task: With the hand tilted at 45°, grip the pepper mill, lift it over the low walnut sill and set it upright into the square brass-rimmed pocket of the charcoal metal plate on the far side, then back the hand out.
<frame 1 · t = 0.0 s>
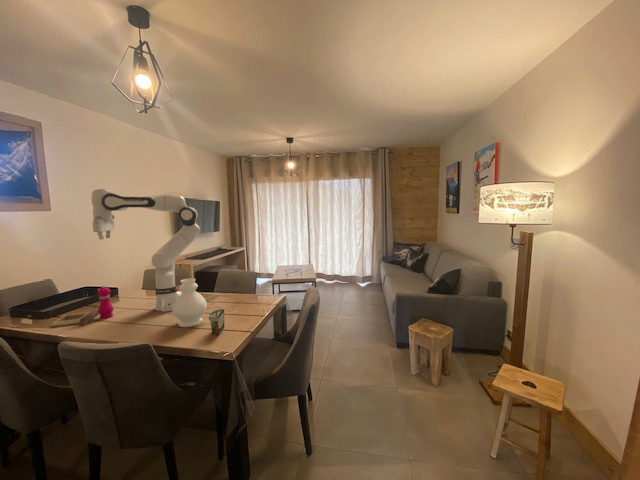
hand: (105, 238, 160), 48 cm above the table, tool pointing down, fingers open, 8 cm apart
walnut sill: (91, 318, 157), on the table
pepper mill: (106, 317, 159), on the table
food container: (216, 331, 137), on the table
decorative vase: (190, 322, 149), on the table
index plate: (72, 321, 154), on the table
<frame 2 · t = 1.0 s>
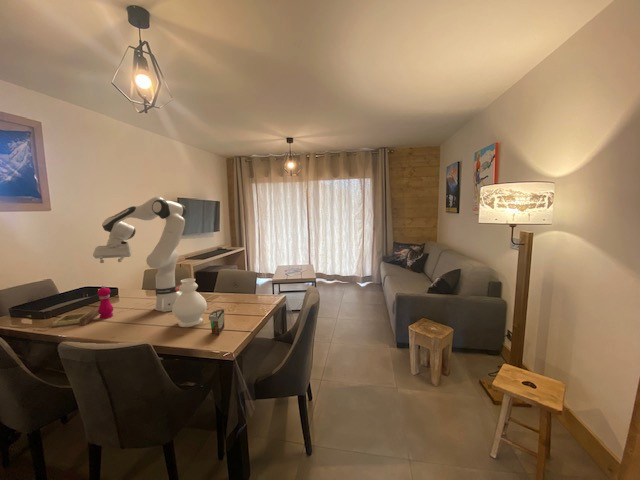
hand: (110, 262, 169), 32 cm above the table, tool tilted 45°, fingers open, 8 cm apart
nothing on the table moved.
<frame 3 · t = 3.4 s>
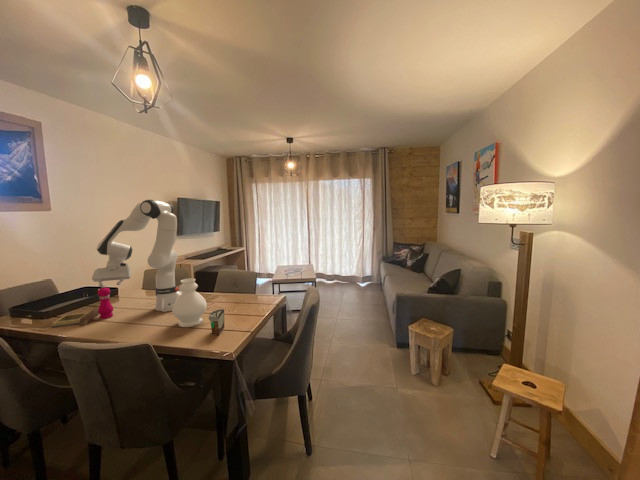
hand: (109, 285, 166), 18 cm above the table, tool tilted 45°, fingers open, 8 cm apart
nothing on the table moved.
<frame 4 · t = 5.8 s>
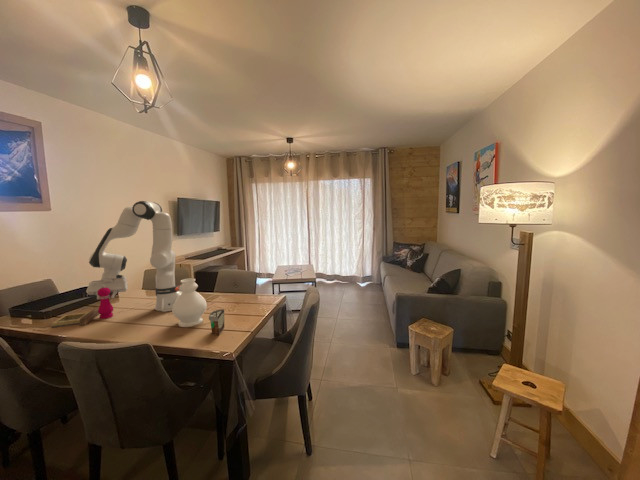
hand: (105, 298, 159), 11 cm above the table, tool tilted 45°, fingers closed on pepper mill, 5 cm apart
pepper mill: (106, 317, 159), on the table, touching gripper
everything else where it was.
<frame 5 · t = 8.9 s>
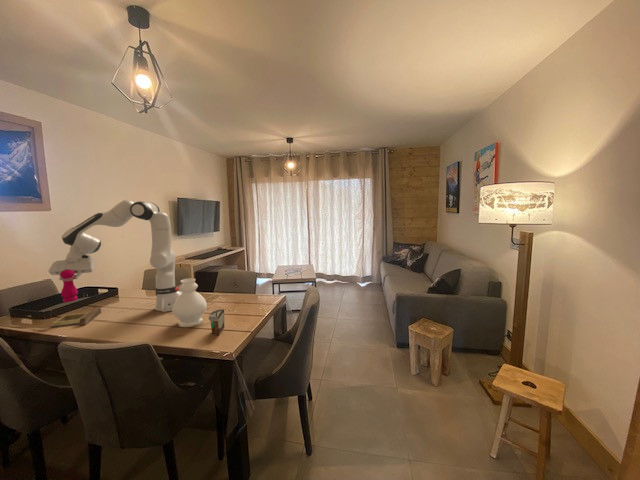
hand: (68, 279, 152), 25 cm above the table, tool tilted 45°, fingers closed on pepper mill, 5 cm apart
pepper mill: (70, 300, 153), point 12 cm above the table, touching gripper
everything else where it was.
when the fingers open (14 cm above the table, at t = 12.1 s): pepper mill stays where it is, resting on index plate.
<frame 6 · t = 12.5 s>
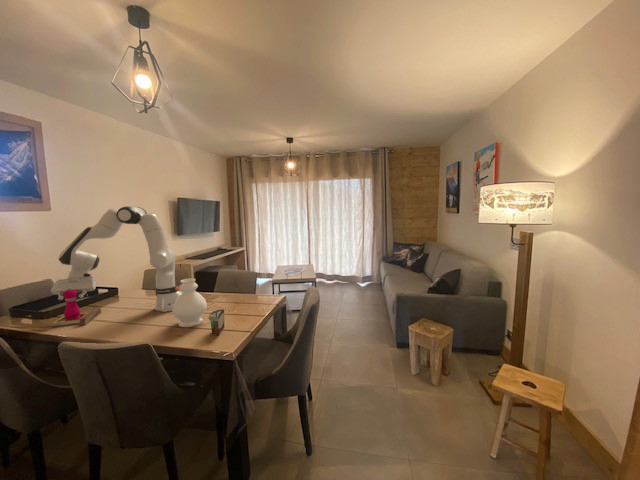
hand: (70, 298, 153), 14 cm above the table, tool tilted 45°, fingers open, 8 cm apart
pepper mill: (73, 320, 154), resting on index plate
everything else where it was.
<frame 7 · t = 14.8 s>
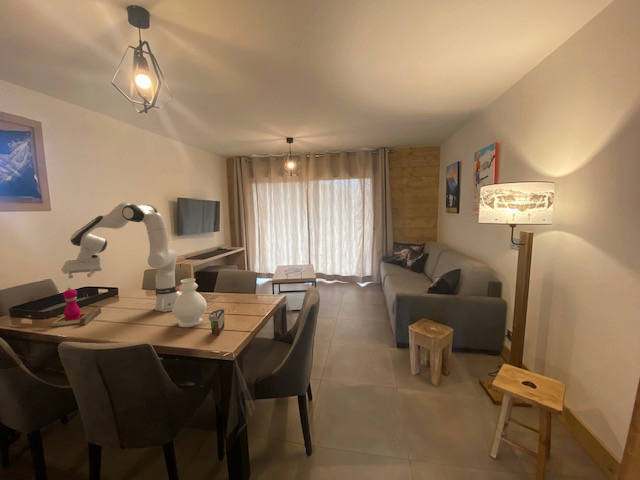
hand: (79, 277, 163), 24 cm above the table, tool tilted 45°, fingers open, 8 cm apart
nothing on the table moved.
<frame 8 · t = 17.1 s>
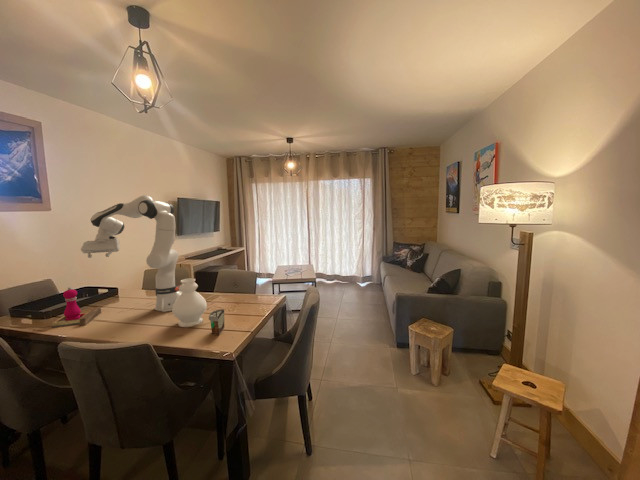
hand: (98, 256, 170), 35 cm above the table, tool tilted 45°, fingers open, 8 cm apart
nothing on the table moved.
at the end: pepper mill 0.5 cm off-centre on the index plate, point 0.4 cm above the index plate's base; pepper mill tilted 0°; the gripper is holding nothing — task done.
